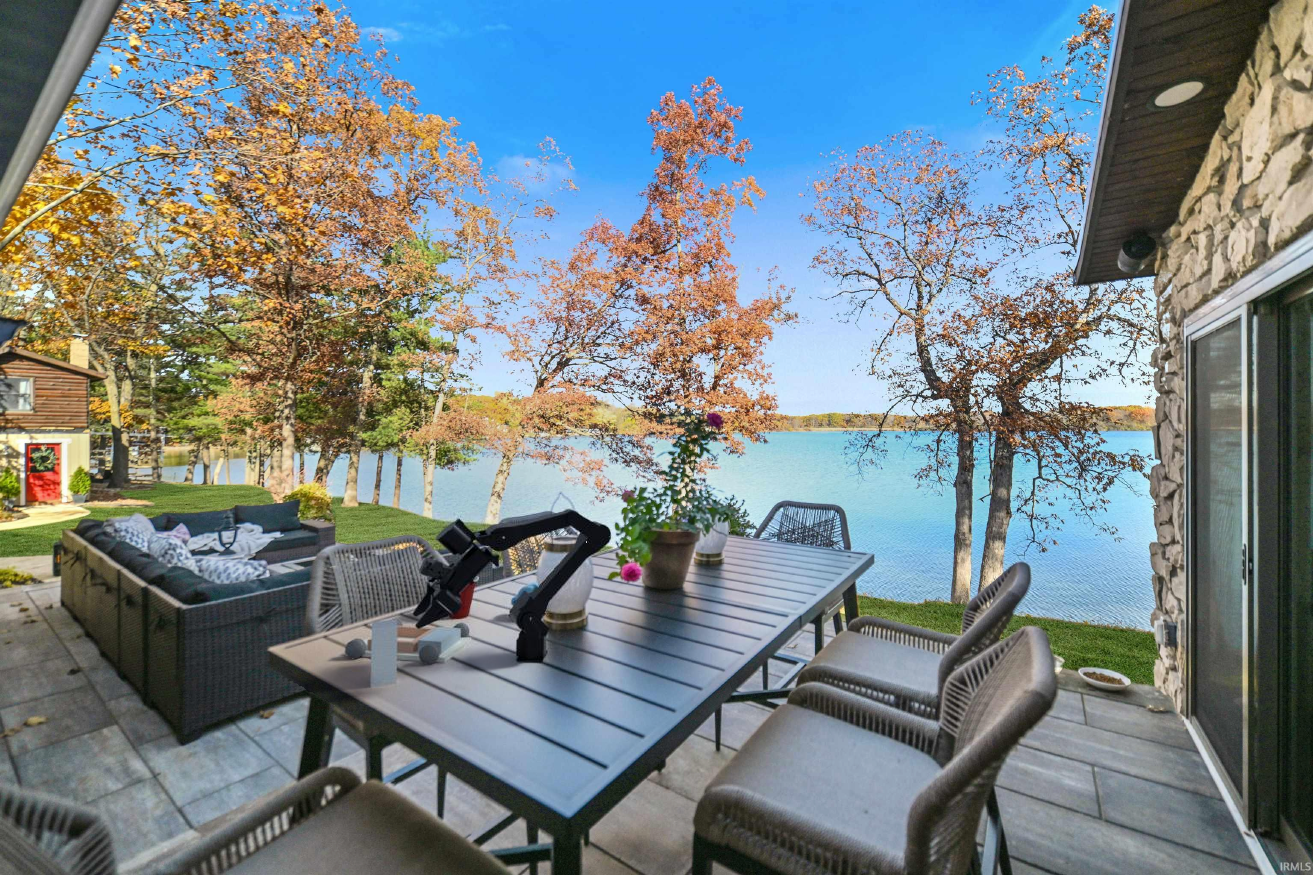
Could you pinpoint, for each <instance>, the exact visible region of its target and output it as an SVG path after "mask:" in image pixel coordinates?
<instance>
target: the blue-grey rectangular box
mask: <svg viewBox="0 0 1313 875" xmlns="http://www.w3.org/2000/svg"><path fill="white" fill-rule="evenodd" d="M394 619H395V620H392V619H389V620H388V619H386V620H379V621H372V622H371V636H372V644H371V657H370V688H374V687H373V686H376V687H381V686H387V685H393V683H395V684H397V666H398V664H397V662H398V661H397V660H398V659H397V629H398V625H397V619H398V618H394Z"/></svg>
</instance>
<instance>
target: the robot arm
mask: <svg viewBox="0 0 1313 875" xmlns="http://www.w3.org/2000/svg"><path fill="white" fill-rule="evenodd" d="M568 527H571V528H573V529H574V530H575V531H577V532H579V533H578V535H577V538H576V540H575V543H574V545H573V547H572V548H571V549H570V550H569V551H568V552H567V554H566V555H565V556H564V557H563V558H562V559H561V560H560V561H559V562H560V563H559V564H558V565H557V566H556V567H555V568H554V570H553V571H552V572H551V573H550V574H549V575H548V576H547V577H546V579H545V580H544V581H543V582H542V583H541V584H540V585H539V587H538V588H537V589H536V590H534V591H532V592H531V593H529V594H528V593H527V592H526V591H525V590H524V591H523V592H522V594H521V595H520V597H519V598H518V599H517V600H516V601H514V602H513V603H514V605H512V607H511V608H510V610H511V617H512V619H513V620H512V621H513V622H514V624H515V625H516V626H517V628H518V629H520V631H519V633H518V637H517V639H516V640H515V642H516V645H515V657H516V659H515V660H516V662H529V663H530V662H531V663H532V662H533V663H535V662H536V663H537V662H538V663H542V662H544V661H545V659H546V657H547V654H548V650H547V634H548V633H549V630H550V627H549V626H548V624H546V623H545V621H544V620H543V617H544V616H545V615H546V614H545V612H546V609H547V606H549V605H550V604H549V602H550V600H551V601H552V599H553V598H554V597H555V596H556V595H557V594H558V593H559V591H560V590H561V589H562V588H563V587H564V586H565V584H566V583H567V582H568V581H569V580H570V579H571V577H572V576H573V575H574V574H575V573H576V572H577V570H578V569H579V568H580V567H581V566H582V565H583V563H584V562H585V561H586V560H587V559H588V558H589V557H591V556H593V555H595V554H597V553H599V552H600V551H601V550H602V549H603V548H605V547H606V546H607V545H609V543H610V541H611V539H612V532H611V529H610V528H609V527H608V526H607V525H606V524H603V523H601V522H597V521H595V520H594V521H592V520H590V519H588V518H587V517H585V516H583V515H582V514H580V513H579V512H578V511H577V510H574V509H571V508H567V509H564V510H562V511H559V512H556V513H555V512H554V513H551V514H547V515H544V516H540V517H536V518H533V519H529V520H525V521H521V522H504V523H503V522H502V523H493V524H491V525H489V526H487V528H486V529H481V530H477V531H472V530H471V529H470V528H469V527H468V526H466V524H465V522H464V521H462V520H461V518H456V519H455V521H453V522H451V523H450V524H448V525H447V526H444V528H443V529H442V530H441V531H440V532H438V534H437V536H436V537H435V540H436V541H437V542H438V543H439V544H441V545H442V546H443V547H444V548H445V549H446V550H447V551H448V552H449V553H450V554H451V555H452V556H457V555H459V556H461V557H460V558H459V559H458V560H457V561H456V562H455V561H451V562H450V563H449V565H448V564H445V563H443V562H442V561H438V560H437V559H432V558H430V557H427V556H426V557H424V559H423V561H422V563H421V565H420V568H419V569H418V570H419V574H421V575H422V576H425V577H427V576H428V577H427V581H426V582H425V588H426V590H425V592H424V595H423V596H422V598H421V599H420V601H419V603H418V604H417V606H416V607H415V609H414V610H413V612H412V615H413V616H414V617H416V618H417V617H418V616H420V615H422V616H421V617H420V618H419V619H418V620H417V621H416V624H415V625H414V627H417V628H418V629H420V628H422V627H427V626H428V625H430V624H433V623H435V622H437V621H440V620H443V619H445V618H447V617H449V616H451V615H453V614H454V615H456V614H457V613H458V612H459V610H460V609H461V608H462V602H461V600H460V599H459V597H460V596H461V594H460V593H461V592H462V591H463V590H464V589H465V588H466V587H467V586H468V585H469V584H471V585H472V584H473V583H474V582H475V581H474V579H475V578H476V576H478V577H479V575H480V574H481V572H483V570H485V569H486V568H487V566H489V564H491V563H492V564H493V565H494V566H495V567H496V568H499V566H500V554H498V553H493V552H492V551H491V550H493V551H494V552H504V551H507V550H509V549H511V548H514V547H515V546H517V545H518V544H520V543H522V542H523V541H525V540H527V539H530V538H533V537H538V536H541V535H543V534H548V533H552V532H554V531H558V530H562V529H565V528H568ZM474 541H477V543H478V544H480V546H483V547H481V548H480V547H479V546H478V545H477V544H476V543H475V542H474ZM586 541H587V543H586ZM487 547H489V548H490V549H491V550H490V549H489V548H487ZM550 603H551V602H550ZM548 604H549V605H548ZM452 613H453V614H452ZM544 614H545V615H544Z"/></svg>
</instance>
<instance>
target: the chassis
mask: <svg viewBox="0 0 1313 875" xmlns="http://www.w3.org/2000/svg"><path fill="white" fill-rule="evenodd" d="M395 619H397V625H398V629H397V660H398V661H399V660H402V661H415V662H421V663H422V664H424V665H433V663H442V664H443V663H444V664H445V663H446V662H448V661H449V660H451V659H452V658H453V657H455V655H457V654H458V653H459V652H461V651H462V650H464V648H466V647H467V646H469V645H470V644H471V643H472V637H469V635H470V628H469V625H467V624H466V623H464V622H459V623H457V624H455V625H454V626H453V627H444V626H438V627H428V626H424V627H422V628H420V629H418V628H417V627H416V626H412V625H409V626H408V625H403V622H402V621H401V620H400V619H399V618H392V619H391V620H395ZM371 644H372V635H371V636H369V637H367V638H365V639H364V640H363V639H362V638H353V639H352V640H350V641H348V642H347V643H346V645H345V648H344V649H345V650H344V655H347V656H346V657H348V658H349V659H351V658H353V659H352V660H356V659H359V658H371ZM360 656H361V657H360Z"/></svg>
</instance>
